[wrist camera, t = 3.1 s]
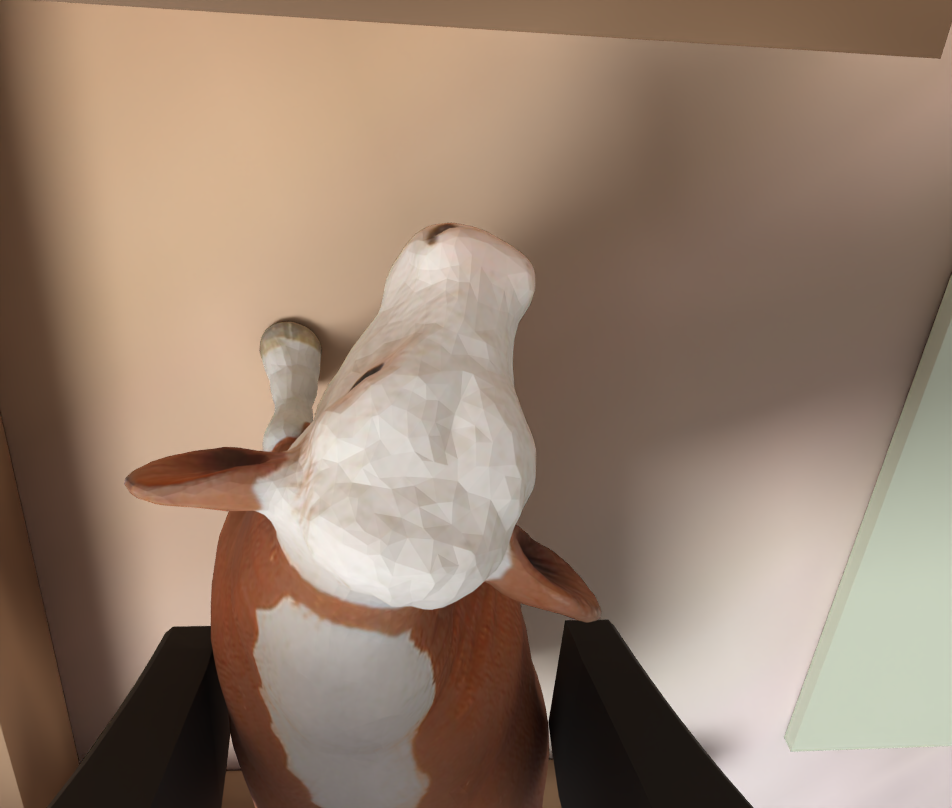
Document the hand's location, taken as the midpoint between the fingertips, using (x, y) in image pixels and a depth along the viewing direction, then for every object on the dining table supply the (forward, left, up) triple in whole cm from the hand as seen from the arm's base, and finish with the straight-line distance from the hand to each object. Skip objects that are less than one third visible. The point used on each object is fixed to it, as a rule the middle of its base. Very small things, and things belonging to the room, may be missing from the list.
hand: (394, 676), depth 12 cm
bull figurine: (0, 0, -5) cm, 5 cm away
